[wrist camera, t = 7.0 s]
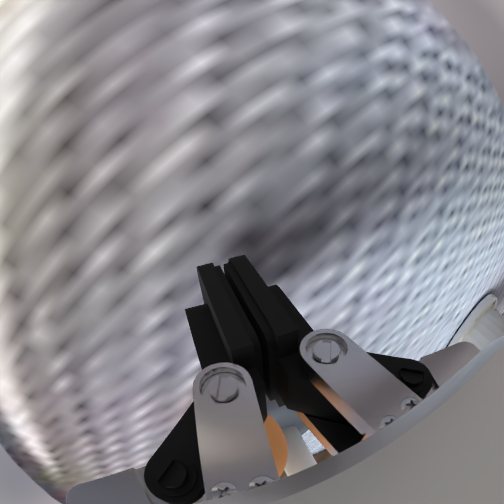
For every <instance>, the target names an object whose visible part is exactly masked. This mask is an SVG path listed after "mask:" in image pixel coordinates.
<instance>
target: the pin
mask: <svg viewBox="0 0 504 504" xmlns="http://www.w3.org/2000/svg"><path fill="white" fill-rule="evenodd" d="M282 431H283V433H284V435H285V438H286V441H287V447H288V457H287V463H286V466H285V469H284V470H285V472H286V474H287V476H290V475H292V474H295V473H297V472H300V471H302V470H304V469H307V468H309V467H311V466H314V465H316V464H317V462H316V461H315V459H314V457H313V455H312V454H311V452H310V450H309V449H308V447H307V445H306V443H305V442H304V440H303V438H302V436H301V435H300V433H299V431H298V429H297V428H296V427H295V426H290V427H286V428H283V429H282Z"/></svg>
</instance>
